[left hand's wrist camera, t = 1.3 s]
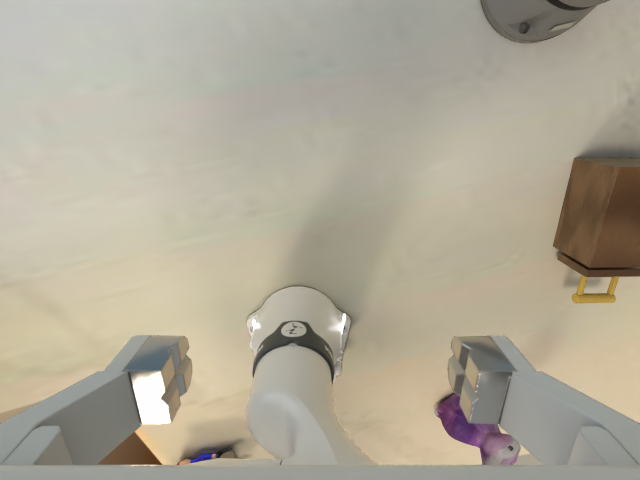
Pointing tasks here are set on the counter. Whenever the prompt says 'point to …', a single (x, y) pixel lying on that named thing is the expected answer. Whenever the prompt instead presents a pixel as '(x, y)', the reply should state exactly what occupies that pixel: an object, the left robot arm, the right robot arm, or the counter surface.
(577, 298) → the drawer
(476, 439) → the figurine
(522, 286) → the counter surface
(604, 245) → the wooden drawer cabinet
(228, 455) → the figurine character
